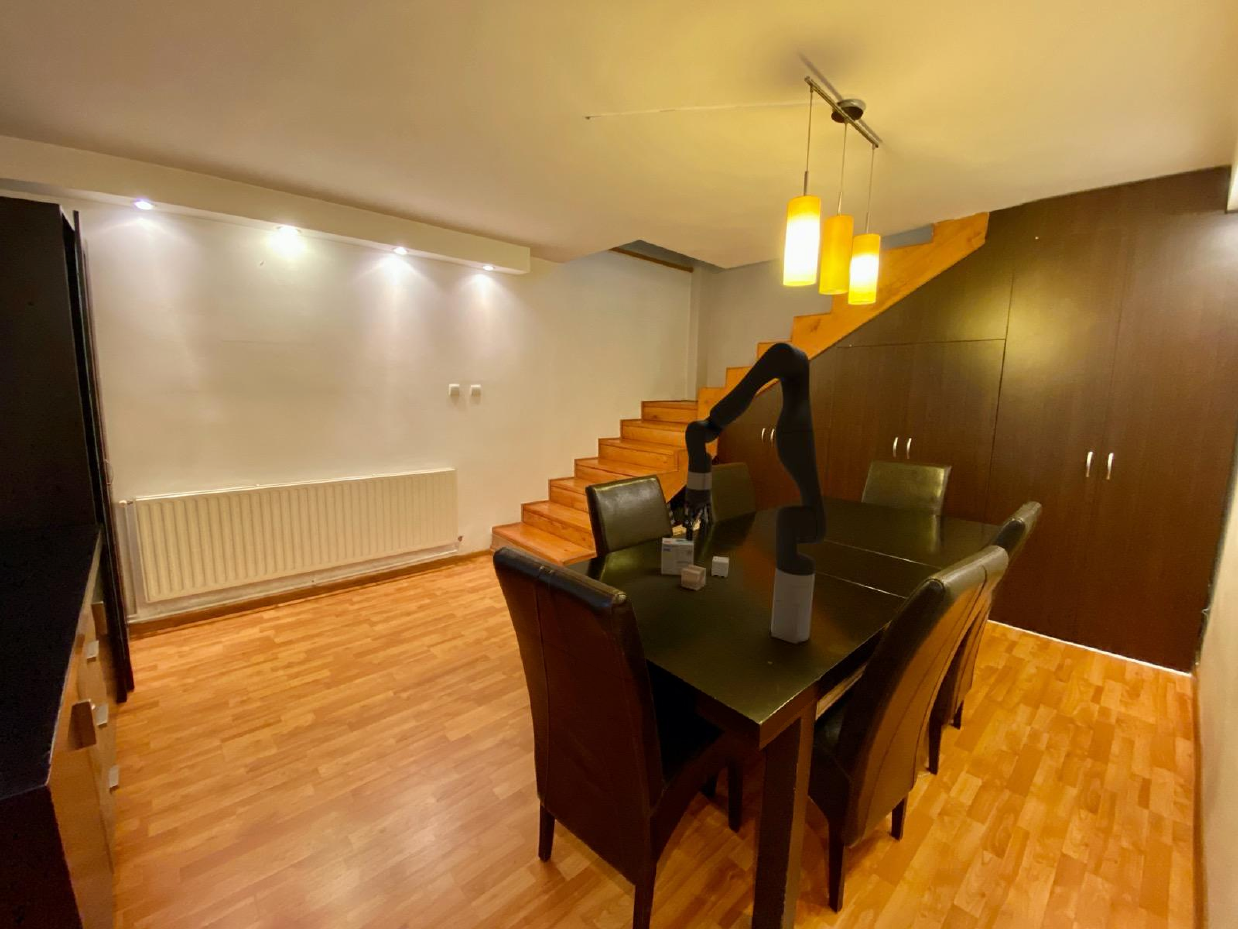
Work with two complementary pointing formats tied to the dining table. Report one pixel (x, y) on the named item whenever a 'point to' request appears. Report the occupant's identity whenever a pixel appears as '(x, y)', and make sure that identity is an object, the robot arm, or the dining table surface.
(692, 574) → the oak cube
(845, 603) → the dining table surface
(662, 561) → the light bulb box
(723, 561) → the grey block
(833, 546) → the dining table surface
